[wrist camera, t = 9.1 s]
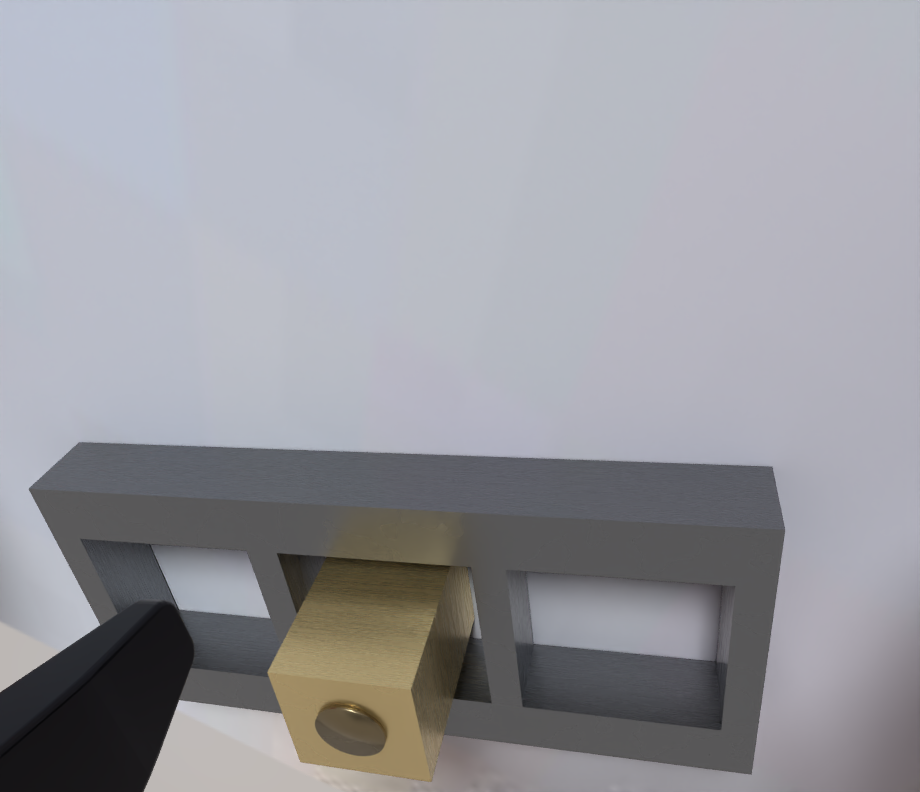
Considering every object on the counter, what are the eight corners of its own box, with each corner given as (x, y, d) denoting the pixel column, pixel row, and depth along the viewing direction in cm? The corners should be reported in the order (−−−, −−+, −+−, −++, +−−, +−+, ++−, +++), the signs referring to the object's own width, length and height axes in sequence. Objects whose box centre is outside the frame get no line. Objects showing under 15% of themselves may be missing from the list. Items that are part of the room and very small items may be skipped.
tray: (772, 466, 20) (785, 529, 18) (743, 704, 25) (751, 774, 23) (79, 442, 26) (28, 488, 24) (172, 642, 31) (137, 694, 29)
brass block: (461, 529, 24) (409, 694, 19) (474, 617, 26) (429, 787, 21) (344, 521, 25) (264, 677, 20) (366, 607, 27) (298, 766, 22)
